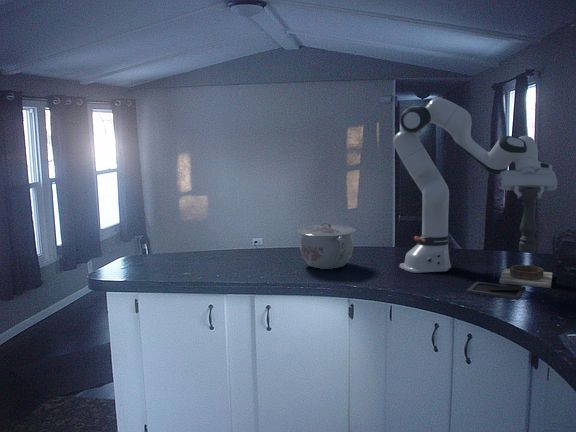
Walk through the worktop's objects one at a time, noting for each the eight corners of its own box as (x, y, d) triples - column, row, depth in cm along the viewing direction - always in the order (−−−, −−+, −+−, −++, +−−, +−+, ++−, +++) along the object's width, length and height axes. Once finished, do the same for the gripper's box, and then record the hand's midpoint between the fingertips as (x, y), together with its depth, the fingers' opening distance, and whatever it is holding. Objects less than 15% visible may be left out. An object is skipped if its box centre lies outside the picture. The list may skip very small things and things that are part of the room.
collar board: (550, 288, 201) (551, 276, 200) (499, 283, 209) (499, 271, 209) (552, 276, 217) (552, 265, 216) (504, 272, 225) (505, 261, 224)
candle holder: (537, 252, 208) (540, 189, 204) (520, 252, 209) (523, 189, 205) (533, 249, 214) (536, 187, 210) (517, 249, 215) (519, 187, 211)
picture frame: (525, 292, 199) (476, 285, 209) (526, 286, 199) (476, 280, 209) (517, 301, 188) (466, 294, 198) (518, 296, 188) (466, 288, 198)
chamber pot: (307, 257, 261) (306, 216, 258) (362, 260, 252) (362, 217, 249) (288, 272, 235) (287, 225, 232) (349, 275, 226) (348, 227, 223)
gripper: (500, 165, 216) (501, 192, 208) (556, 164, 210) (559, 192, 202) (499, 175, 221) (500, 201, 213) (553, 175, 215) (556, 202, 207)
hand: (529, 197), depth 207 cm, fingers closed on candle holder, 5 cm apart
